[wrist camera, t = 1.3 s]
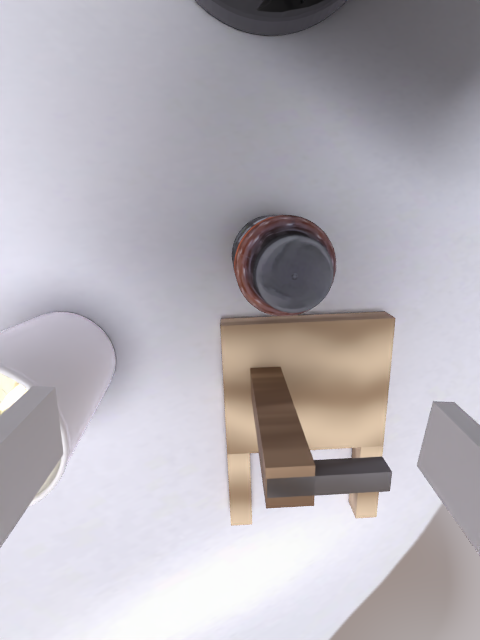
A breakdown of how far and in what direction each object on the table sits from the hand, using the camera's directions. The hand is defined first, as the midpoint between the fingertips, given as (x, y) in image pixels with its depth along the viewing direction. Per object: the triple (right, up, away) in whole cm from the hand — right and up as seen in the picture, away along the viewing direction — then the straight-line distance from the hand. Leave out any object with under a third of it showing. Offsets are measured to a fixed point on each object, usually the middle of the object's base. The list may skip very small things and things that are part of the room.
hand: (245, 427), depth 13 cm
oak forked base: (+6, -5, +21) cm, 22 cm away
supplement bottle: (+2, +9, +16) cm, 19 cm away
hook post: (+4, -1, +17) cm, 18 cm away
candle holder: (-15, +1, +18) cm, 24 cm away
